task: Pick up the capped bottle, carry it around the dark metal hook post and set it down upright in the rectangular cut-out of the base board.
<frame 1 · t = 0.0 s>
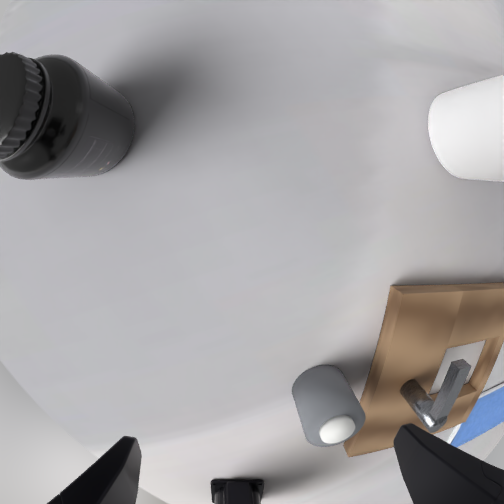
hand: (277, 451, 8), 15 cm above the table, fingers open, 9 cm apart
beverage can: (454, 135, 20), on the table
tablet computer: (489, 407, 31), on the table
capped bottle: (318, 386, 25), on the table
base board: (437, 368, 26), on the table
supplement bottle: (97, 133, 19), on the table
hook post: (399, 376, 25), resting on base board
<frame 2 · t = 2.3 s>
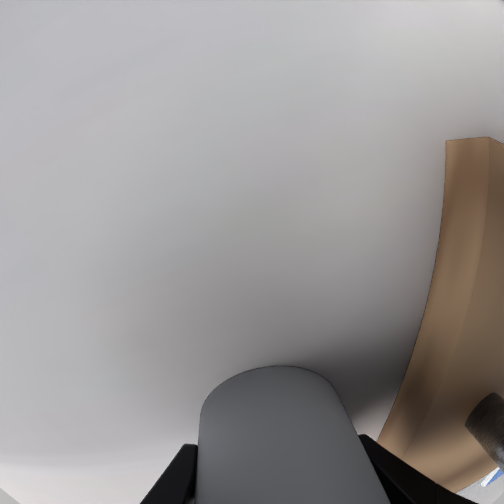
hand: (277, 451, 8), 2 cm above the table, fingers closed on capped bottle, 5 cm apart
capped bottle: (271, 420, 9), on the table, touching gripper
hook post: (459, 387, 10), resting on base board
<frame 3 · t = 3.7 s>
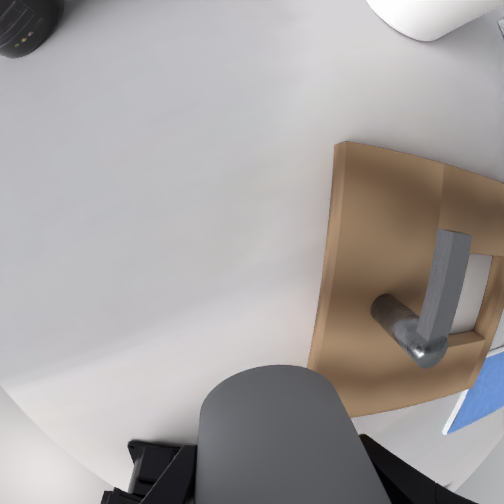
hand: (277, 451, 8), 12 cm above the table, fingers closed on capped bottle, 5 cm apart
beverage can: (399, 5, 15), on the table
tablet computer: (499, 377, 26), on the table
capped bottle: (271, 419, 9), point 10 cm above the table, touching gripper
base board: (427, 295, 20), on the table
supplement bottle: (33, 26, 13), on the table
hook post: (371, 296, 20), resting on base board
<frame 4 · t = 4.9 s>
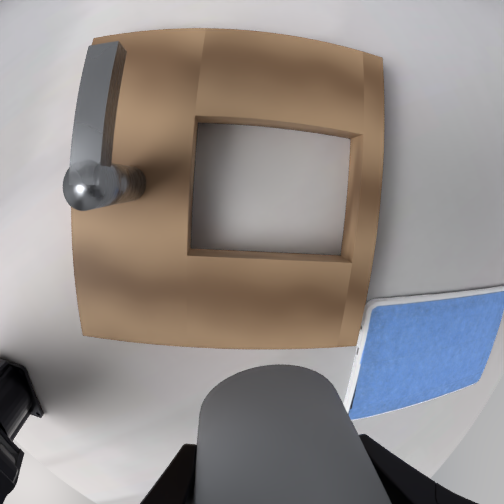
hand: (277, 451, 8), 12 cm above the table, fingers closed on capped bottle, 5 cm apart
tablet computer: (433, 348, 24), on the table
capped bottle: (270, 419, 9), point 11 cm above the table, touching gripper
base board: (225, 186, 18), on the table
hook post: (139, 184, 17), resting on base board
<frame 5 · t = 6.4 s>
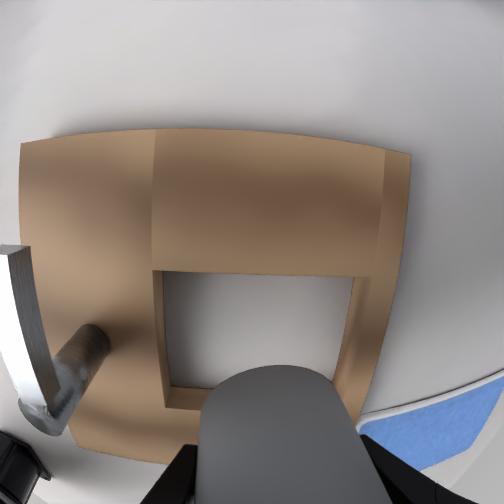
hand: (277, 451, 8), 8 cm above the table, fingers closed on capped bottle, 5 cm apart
tablet computer: (425, 432, 21), on the table
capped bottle: (271, 419, 9), point 7 cm above the table, touching gripper
base board: (201, 332, 15), on the table
hook post: (106, 324, 15), resting on base board
when the fingers open (3 cm above the table, at t = 7.7 s): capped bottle drops 2 cm, resting in base board.
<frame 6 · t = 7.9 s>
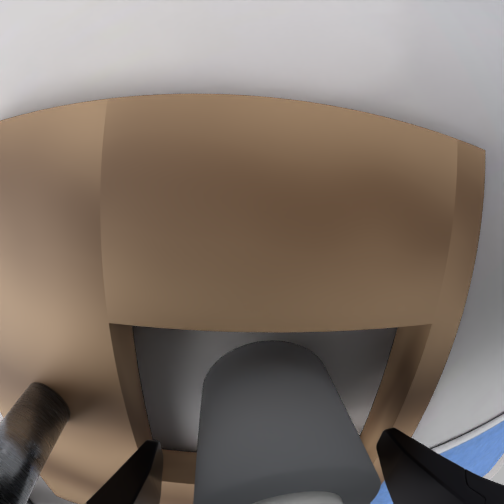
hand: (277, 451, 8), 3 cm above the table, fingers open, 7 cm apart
tablet computer: (447, 465, 16), on the table
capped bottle: (266, 393, 11), resting in base board
base board: (190, 393, 10), on the table
hook post: (67, 375, 10), resting on base board
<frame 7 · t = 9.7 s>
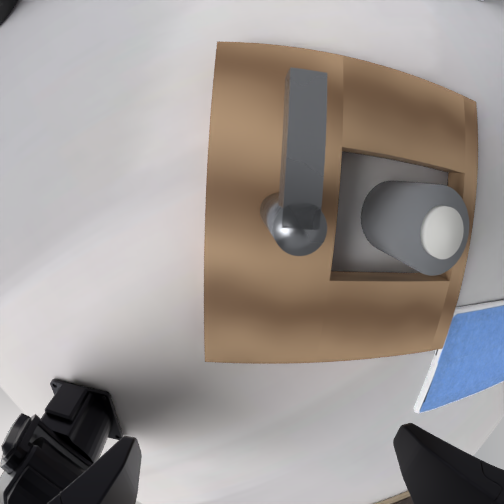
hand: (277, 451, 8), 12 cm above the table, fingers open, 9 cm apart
tablet computer: (485, 346, 24), on the table
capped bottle: (392, 216, 19), resting in base board
base board: (355, 213, 19), on the table
hook post: (273, 207, 18), resting on base board
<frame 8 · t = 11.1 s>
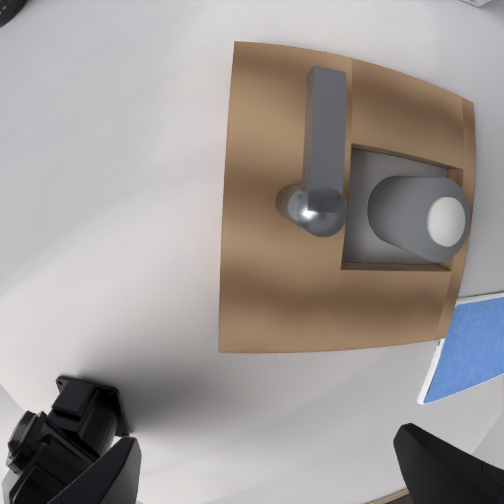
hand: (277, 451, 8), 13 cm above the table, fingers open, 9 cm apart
tablet computer: (485, 339, 25), on the table
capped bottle: (396, 210, 20), resting in base board
base board: (362, 207, 19), on the table
supplement bottle: (10, 5, 12), on the table
hook post: (285, 200, 19), resting on base board
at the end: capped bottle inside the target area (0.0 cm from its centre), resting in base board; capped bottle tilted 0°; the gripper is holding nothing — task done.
